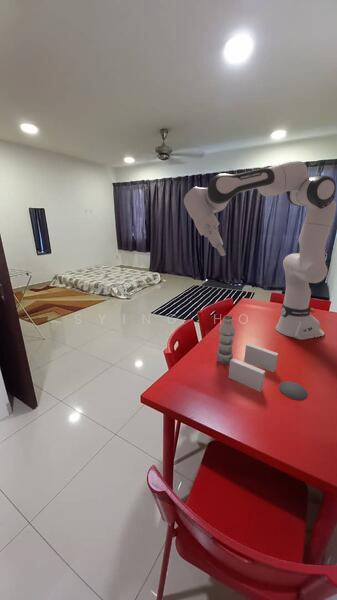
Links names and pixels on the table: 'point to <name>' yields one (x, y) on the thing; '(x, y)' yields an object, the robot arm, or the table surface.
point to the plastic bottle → (226, 340)
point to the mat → (293, 390)
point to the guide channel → (250, 373)
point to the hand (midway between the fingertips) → (224, 255)
